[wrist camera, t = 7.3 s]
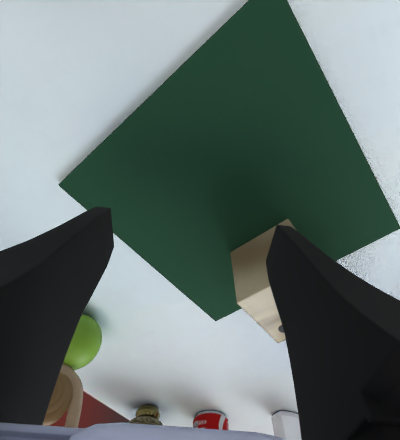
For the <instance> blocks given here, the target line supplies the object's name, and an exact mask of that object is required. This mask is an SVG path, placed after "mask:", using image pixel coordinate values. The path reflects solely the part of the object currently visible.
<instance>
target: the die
mask: <svg viewBox="0 0 400 440" xmlns="http://www.w3.org/2000/svg"><path fill="white" fill-rule="evenodd" d="M278 225H284V226H291V227H292V228H294V229H295V227H294V226H293V224H292V223H291V222H290V220H289V219H286V220H285V221H283V222H281V223H279V224H278ZM275 229H276V226H274V227H273V228H271V229H269V230H268V231H266V232H264V233H262V234H261V235H259V236H257V237H256V238H254V239H252V240H251V241H249V242H247V243H245V244H244V245H242V246H240V247H239V248H237V249H235V250H234V251H232V252H231V253H230V254H231V261H232V269H233V277H234V285H235V293H236V300H237V304H238V305H239V306H240V307H241V308H243V309H244V310H245V311H246V312H247V313H248V314H249V315H250V316H251V317H252V318H253V319H254V320H255V321H256V322H257V323H258V324H259V325H260V326H261V327H262V328H263V329H264V330H265V331H266V332H267V333H268V334H269V335H270V336H271V337H272V338H273V339H274V340H275V341H276V342H277V343H280V342H282V341H285V340H286V338H285V334H284V330H283V326H282V323H281V319H280V316H279V313H278V310H277V307H276V303H275V300H274V297H273V294H272V290H271V287H270V284H269V280H268V274H267V267H266V258H267V255H268V252H269V248H270V245H271V242H272V238H273V235H274V232H275ZM295 230H296V229H295Z"/></svg>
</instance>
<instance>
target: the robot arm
mask: <svg viewBox="0 0 400 440" xmlns="http://www.w3.org/2000/svg"><path fill="white" fill-rule="evenodd" d="M113 248H114V241H113V229H112V216H111V208H107V207H97V206H96V207H94V208H92V209H90V210H88V211H86V212H84V213H82V214H80V215H78V216H77V217H75V218H73V219H71V220H69V221H67V222H65V223H64V224H62V225H60V226H58V227H56V228H54V229H52V230H50V231H47V232H45V233H43V234H41V235H39V236H37V237H35V238H33V239H30V240H28V241H26V242H23V243H21V244H18V245H15V246H13V247H10V248H8V249H5V250H2V251H0V440H283V439H282V438H280V437H276V436H271V435H266V434H262V433H257V432H245V431H231V430H217V429H203V428H189V427H175V426H162V425H148V424H134V423H110V424H109V423H108V424H95V425H93V426H90V427H88V428H86V429H83V428H70V427H56V426H42V425H43V421H44V418H45V415H46V412H47V409H48V406H49V403H50V399H51V396H52V393H53V390H54V388H55V385H56V382H57V379H58V376H59V373H60V370H61V367H62V364H63V362H64V359H65V356H66V354H67V351H68V348H69V346H70V343H71V340H72V338H73V335H74V333H75V330H76V328H77V325H78V323H79V320H80V318H81V316H82V313H83V311H84V309H85V307H86V305H87V303H88V302H89V300H90V298H91V296H92V294H93V292H94V290H95V288H96V286H97V284H98V283H99V281H100V279H101V277H102V275H103V273H104V271H105V269H106V267H107V265H108V262H109V259H110V257H111V254H112V251H113ZM266 267H267V274H268V280H269V284H270V287H271V290H272V294H273V297H274V300H275V303H276V307H277V310H278V313H279V316H280V319H281V323H282V326H283V330H284V334H285V338H286V343H287V348H288V353H289V358H290V364H291V369H292V375H293V381H294V387H295V394H296V401H297V408H298V415H299V423H300V432H301V440H400V301H399V300H398V299H396V298H394V297H392V296H390V295H388V294H386V293H384V292H383V291H381V290H379V289H377V288H375V287H374V286H372V285H370V284H369V283H367V282H365V281H364V280H362V279H361V278H359V277H357V276H356V275H354V274H353V273H351V272H350V271H348V270H347V269H345V268H344V267H343V266H341V265H340V264H338V263H337V262H336V261H334V260H333V259H332V258H330V257H329V256H328V255H326V254H325V253H324V252H323V251H321V250H320V249H319V248H318V247H316V246H315V245H314V244H313V243H311V242H310V241H309V240H308V239H307V238H305V237H304V236H303V235H302V234H300V233H299V232H298V231H297V230H295V229H294V228H292V227H291V226H284V225H276V229H275V232H274V235H273V238H272V242H271V245H270V248H269V252H268V255H267V258H266Z"/></svg>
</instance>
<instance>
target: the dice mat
mask: <svg viewBox="0 0 400 440" xmlns="http://www.w3.org/2000/svg"><path fill="white" fill-rule="evenodd" d="M59 186H60V187H61V188H62V189H63V190H65V191H66V192H67V193H68V194H69V195H70V196H71V197H73V198H74V199H75V200H76V201H77V202H78V203H80V204H81V205H82V206H83V207H84V208H85V209H86V210H90V209H92V208H94V207H96V206H97V207H107V208H111V216H112V229H113V233H114V234H115V235H117V236H118V237H119V238H120V239H121V240H122V241H123V242H125V243H126V244H127V245H128V246H129V247H130V248H132V249H133V250H134V251H135V252H136V253H137V254H139V255H140V256H141V257H142V258H143V259H144V260H145V261H147V262H148V263H149V264H150V265H151V266H152V267H154V268H155V269H156V270H157V271H158V272H159V273H160V274H162V275H163V276H164V277H165V278H166V279H167V280H169V281H170V282H171V283H172V284H173V285H174V286H175V287H177V288H178V289H179V290H180V291H181V292H182V293H184V294H185V295H186V296H187V297H188V298H189V299H191V300H192V301H193V302H194V303H195V304H196V305H197V306H199V307H200V308H201V309H202V310H203V311H204V312H206V313H207V314H208V315H209V316H210V317H211V318H212V319H214V320H215V321H217V320H219V319H221V318H223V317H225V316H227V315H229V314H231V313H233V312H235V311H237V310H239V309H241V307H240V306H239V305H238V304H237V300H236V293H235V285H234V277H233V269H232V261H231V254H230V253H231V252H232V251H234V250H235V249H237V248H239V247H240V246H242V245H244V244H245V243H247V242H249V241H251V240H252V239H254V238H256V237H257V236H259V235H261V234H262V233H264V232H266V231H268V230H269V229H271V228H273V227H274V226H276V225H278V224H279V223H281V222H283V221H285V220H286V219H289V220H290V222H291V223H292V224H293V226H294V227H295V229H296V230H297V231H298V232H299V233H300V234H302V235H303V236H304V237H305V238H307V239H308V240H309V241H310V242H311V243H313V244H314V245H315V246H316V247H318V248H319V249H320V250H321V251H323V252H324V253H325V254H326V255H328V256H329V257H330V258H332V259H333V260H334V261H336V260H338V259H340V258H342V257H344V256H346V255H348V254H350V253H352V252H354V251H356V250H358V249H360V248H362V247H364V246H366V245H368V244H370V243H372V242H374V241H376V240H378V239H380V238H382V237H384V236H386V235H388V234H390V233H392V232H394V231H396V230H398V229H400V226H399V224H398V222H397V220H396V218H395V216H394V214H393V212H392V210H391V208H390V206H389V204H388V202H387V200H386V198H385V196H384V194H383V192H382V190H381V188H380V186H379V184H378V182H377V180H376V178H375V176H374V174H373V172H372V170H371V168H370V166H369V164H368V162H367V160H366V158H365V156H364V154H363V152H362V150H361V148H360V146H359V144H358V142H357V140H356V138H355V136H354V134H353V132H352V130H351V128H350V126H349V124H348V122H347V120H346V118H345V116H344V114H343V112H342V110H341V108H340V106H339V104H338V102H337V100H336V98H335V96H334V94H333V92H332V90H331V88H330V86H329V84H328V82H327V80H326V78H325V76H324V74H323V72H322V70H321V68H320V66H319V64H318V62H317V60H316V58H315V56H314V54H313V52H312V50H311V48H310V46H309V44H308V42H307V40H306V38H305V36H304V34H303V32H302V30H301V28H300V26H299V24H298V22H297V20H296V18H295V16H294V14H293V12H292V10H291V8H290V6H289V4H288V2H287V0H249V1H248V2H247V3H246V4H245V5H244V6H243V7H242V8H241V9H240V10H239V11H237V12H236V13H235V14H234V15H233V16H232V17H231V18H230V19H229V20H228V21H227V22H226V23H225V24H224V25H223V26H222V27H221V28H220V29H219V30H218V31H217V32H216V33H215V34H214V35H213V36H212V37H211V38H210V39H209V40H208V41H207V42H205V43H204V44H203V45H202V46H201V47H200V48H199V49H198V50H197V51H196V52H195V53H194V54H193V55H192V56H191V57H190V58H189V59H188V60H187V61H186V62H185V63H184V64H183V65H182V66H181V67H180V68H179V69H178V70H177V71H176V72H174V73H173V74H172V75H171V76H170V77H169V78H168V79H167V80H166V81H165V82H164V83H163V84H162V85H161V86H160V87H159V88H158V89H157V90H156V91H155V92H154V93H153V94H152V95H151V96H150V97H149V98H148V99H147V100H146V101H145V102H143V103H142V104H141V105H140V106H139V107H138V108H137V109H136V110H135V111H134V112H133V113H132V114H131V115H130V116H129V117H128V118H127V119H126V120H125V121H124V122H123V123H122V124H121V125H120V126H119V127H118V128H117V129H116V130H115V131H114V132H112V133H111V134H110V135H109V136H108V137H107V138H106V139H105V140H104V141H103V142H102V143H101V144H100V145H99V146H98V147H97V148H96V149H95V150H94V151H93V152H92V153H91V154H90V155H89V156H88V157H87V158H86V159H85V160H84V161H83V162H82V163H80V164H79V165H78V166H77V167H76V168H75V169H74V170H73V171H72V172H71V173H70V174H69V175H68V176H67V177H66V178H65V179H64V180H63V181H62V182H61V183H60V184H59Z"/></svg>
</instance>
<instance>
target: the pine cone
mask: <svg viewBox="0 0 400 440" xmlns="http://www.w3.org/2000/svg"><path fill="white" fill-rule="evenodd" d="M159 417H160V413H159V410H158V408H156V407H155V406H152V405H143V406H140V407H139V408H138V410H137V411H136V418H134V419H132V420H131V421H130V422H129V423H134V424H148V425H162V423H161V422H160V421H159V420H158V419H159ZM162 426H163V425H162Z"/></svg>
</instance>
